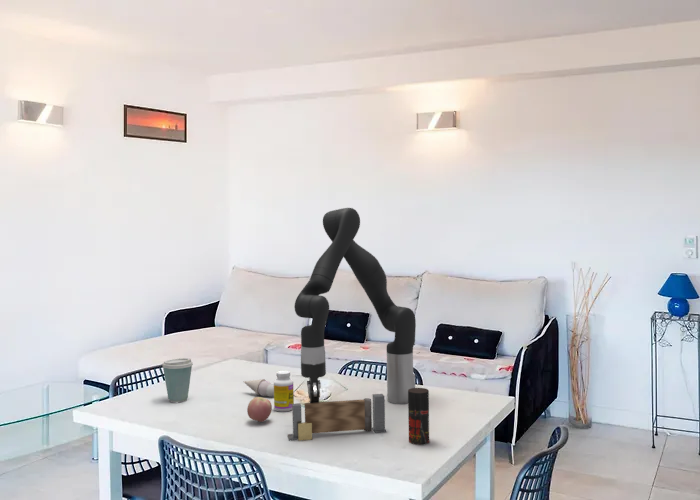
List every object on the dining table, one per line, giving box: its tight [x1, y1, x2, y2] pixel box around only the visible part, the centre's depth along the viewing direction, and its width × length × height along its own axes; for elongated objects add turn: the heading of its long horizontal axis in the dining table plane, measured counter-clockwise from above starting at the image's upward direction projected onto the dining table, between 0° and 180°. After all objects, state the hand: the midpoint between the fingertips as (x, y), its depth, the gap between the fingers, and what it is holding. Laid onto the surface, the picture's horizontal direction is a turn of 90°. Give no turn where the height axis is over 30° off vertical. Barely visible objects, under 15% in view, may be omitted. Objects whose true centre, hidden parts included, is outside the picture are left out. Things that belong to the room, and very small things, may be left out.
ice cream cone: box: [243, 378, 274, 398], centre depth 251 cm, size 6×6×15 cm
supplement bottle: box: [273, 370, 295, 413], centre depth 232 cm, size 7×7×13 cm
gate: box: [304, 397, 373, 434], centre depth 205 cm, size 20×2×10 cm, turn 99°
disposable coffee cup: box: [162, 357, 193, 403], centre depth 246 cm, size 11×11×15 cm
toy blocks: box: [286, 403, 313, 442], centre depth 203 cm, size 7×5×10 cm
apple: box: [246, 396, 273, 423], centre depth 219 cm, size 8×8×8 cm
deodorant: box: [407, 387, 430, 446], centre depth 197 cm, size 6×6×15 cm
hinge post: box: [372, 393, 387, 434], centre depth 208 cm, size 4×4×11 cm
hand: (314, 415), depth 209 cm, fingers closed
